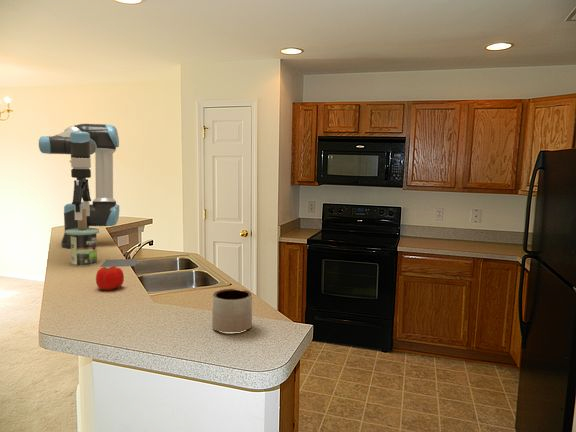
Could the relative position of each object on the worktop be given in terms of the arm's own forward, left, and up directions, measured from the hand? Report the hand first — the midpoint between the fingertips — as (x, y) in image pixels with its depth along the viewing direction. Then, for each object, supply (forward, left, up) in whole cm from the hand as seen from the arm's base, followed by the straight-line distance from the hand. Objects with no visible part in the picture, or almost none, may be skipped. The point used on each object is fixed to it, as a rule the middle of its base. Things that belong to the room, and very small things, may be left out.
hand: (82, 218), depth 180 cm
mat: (+1, +15, -20) cm, 25 cm away
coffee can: (0, 0, -21) cm, 21 cm away
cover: (0, 0, -6) cm, 6 cm away
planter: (+83, +56, -21) cm, 102 cm away
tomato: (+39, +17, -21) cm, 47 cm away
